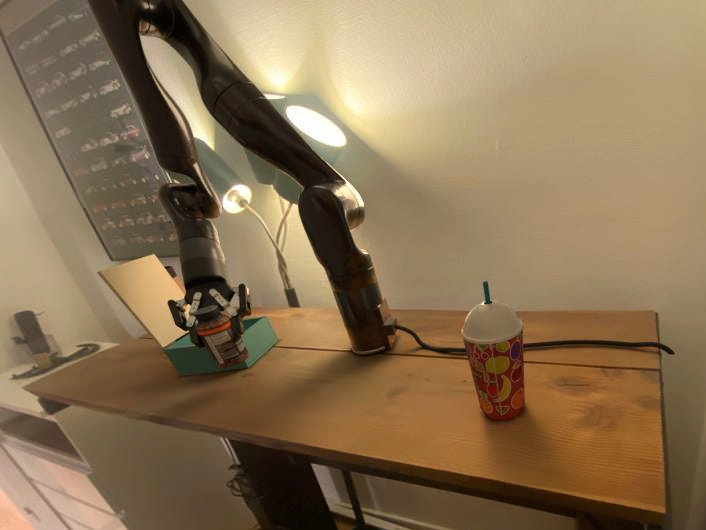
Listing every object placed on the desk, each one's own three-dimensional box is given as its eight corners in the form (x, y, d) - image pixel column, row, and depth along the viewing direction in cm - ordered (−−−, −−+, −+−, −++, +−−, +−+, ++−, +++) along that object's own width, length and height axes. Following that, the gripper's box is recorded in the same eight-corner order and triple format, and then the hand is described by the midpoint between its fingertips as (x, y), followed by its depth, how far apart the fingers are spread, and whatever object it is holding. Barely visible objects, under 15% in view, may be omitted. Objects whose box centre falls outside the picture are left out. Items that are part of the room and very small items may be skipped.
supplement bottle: (220, 360, 76) (191, 309, 71) (251, 350, 78) (225, 300, 72) (215, 372, 71) (183, 318, 66) (249, 362, 73) (220, 309, 68)
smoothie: (473, 397, 60) (451, 277, 51) (524, 389, 60) (512, 267, 51) (478, 431, 53) (453, 298, 43) (536, 421, 53) (524, 286, 43)
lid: (154, 253, 84) (136, 260, 85) (99, 271, 72) (79, 278, 73) (204, 321, 92) (188, 327, 93) (163, 347, 80) (144, 353, 81)
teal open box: (278, 340, 94) (267, 315, 91) (248, 367, 83) (234, 340, 79) (217, 348, 96) (204, 323, 92) (179, 376, 84) (162, 349, 81)
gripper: (150, 264, 70) (163, 345, 65) (234, 247, 73) (251, 323, 69) (175, 285, 77) (188, 358, 72) (250, 268, 80) (267, 338, 76)
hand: (219, 341), depth 71 cm, fingers closed on supplement bottle, 6 cm apart
